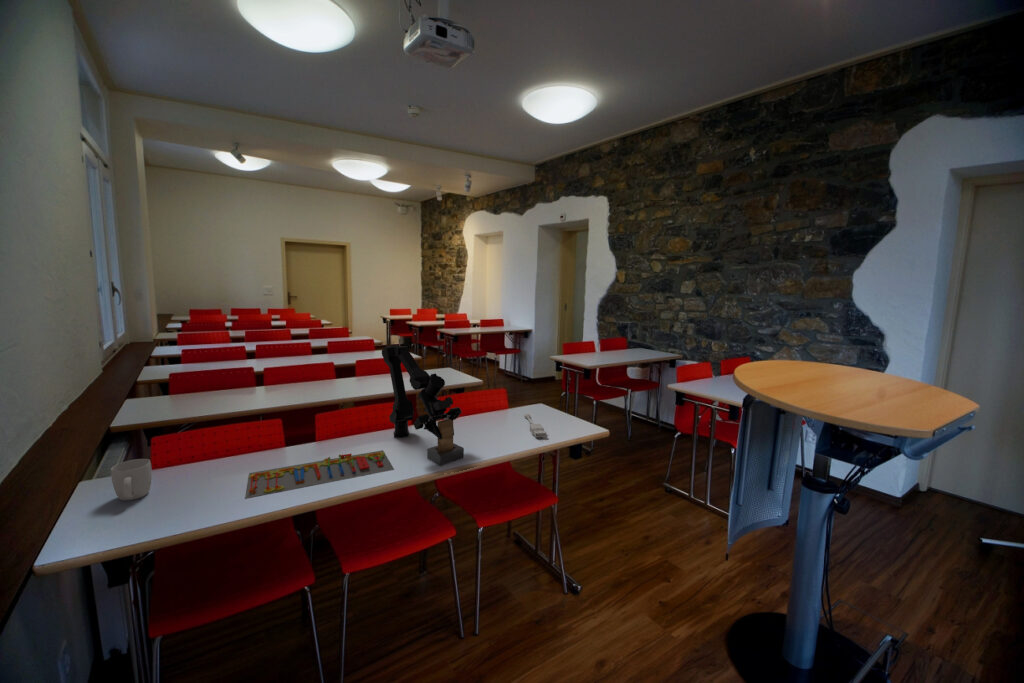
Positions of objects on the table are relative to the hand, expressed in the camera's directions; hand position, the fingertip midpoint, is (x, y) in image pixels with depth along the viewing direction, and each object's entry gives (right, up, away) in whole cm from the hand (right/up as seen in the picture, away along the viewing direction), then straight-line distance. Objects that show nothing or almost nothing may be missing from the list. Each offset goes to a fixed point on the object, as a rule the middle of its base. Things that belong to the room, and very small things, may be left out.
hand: (447, 437), depth 157 cm
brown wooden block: (-1, -7, +2) cm, 7 cm away
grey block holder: (-1, -9, +2) cm, 9 cm away
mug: (-91, -12, -30) cm, 96 cm away
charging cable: (+34, -4, +39) cm, 52 cm away
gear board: (-42, -10, -10) cm, 44 cm away
